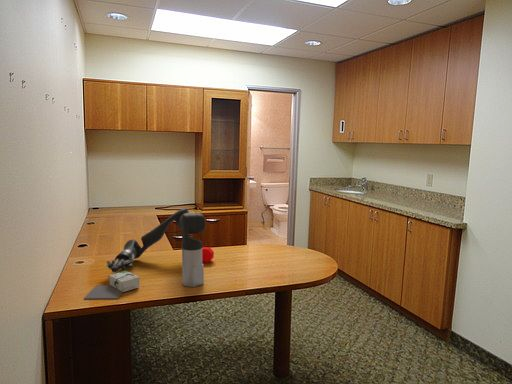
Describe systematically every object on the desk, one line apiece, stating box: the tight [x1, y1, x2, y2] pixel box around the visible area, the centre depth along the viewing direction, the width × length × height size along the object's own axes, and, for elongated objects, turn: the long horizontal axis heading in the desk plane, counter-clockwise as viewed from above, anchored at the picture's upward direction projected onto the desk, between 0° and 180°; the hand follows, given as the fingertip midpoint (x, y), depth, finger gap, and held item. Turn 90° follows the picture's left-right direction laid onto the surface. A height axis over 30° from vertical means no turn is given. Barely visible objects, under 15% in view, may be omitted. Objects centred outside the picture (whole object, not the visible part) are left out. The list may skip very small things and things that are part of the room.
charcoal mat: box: [83, 285, 124, 300], centre depth 161 cm, size 14×14×1 cm
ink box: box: [109, 270, 140, 293], centre depth 167 cm, size 9×5×12 cm
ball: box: [202, 246, 215, 264], centre depth 204 cm, size 8×8×8 cm
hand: (113, 270), depth 170 cm, fingers closed
